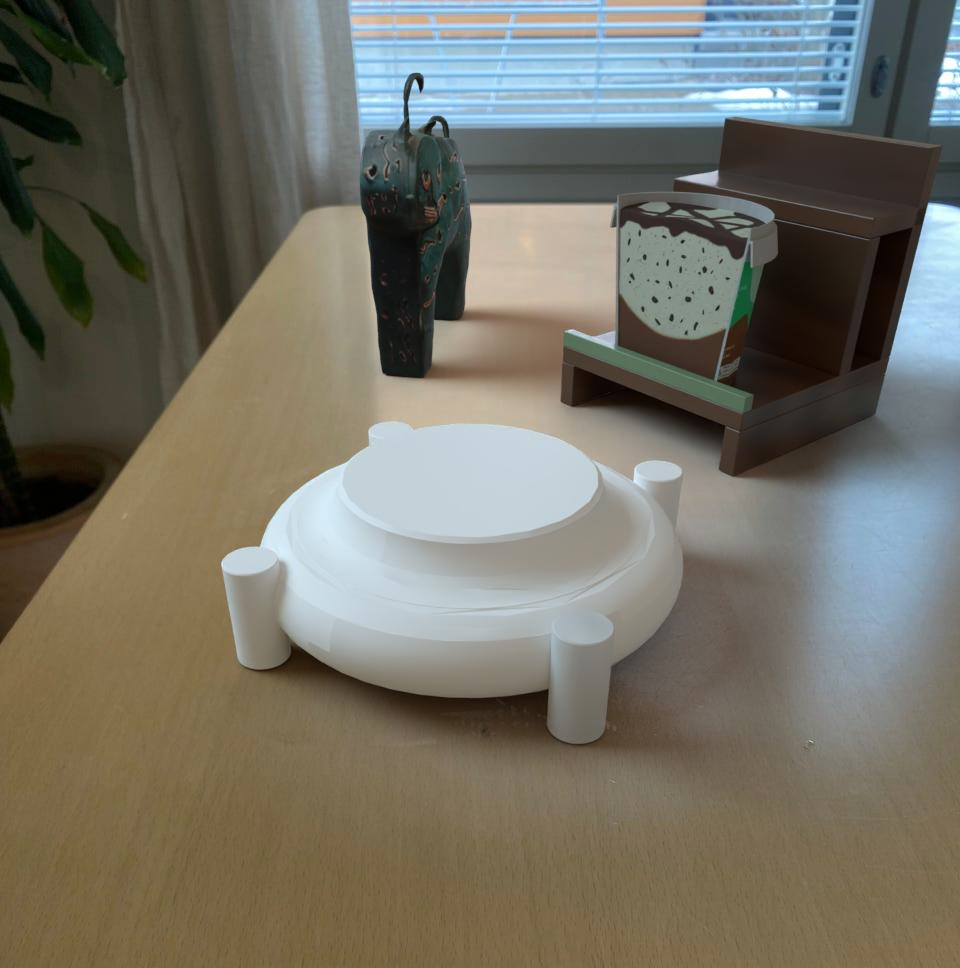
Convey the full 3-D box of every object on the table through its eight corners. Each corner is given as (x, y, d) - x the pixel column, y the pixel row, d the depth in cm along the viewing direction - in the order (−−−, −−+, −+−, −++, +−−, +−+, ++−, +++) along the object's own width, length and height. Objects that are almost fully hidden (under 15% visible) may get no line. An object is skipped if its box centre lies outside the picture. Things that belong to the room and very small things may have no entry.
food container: (796, 378, 64) (827, 215, 58) (732, 399, 61) (758, 230, 55) (663, 329, 72) (679, 182, 66) (600, 345, 69) (612, 193, 63)
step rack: (703, 354, 80) (735, 116, 70) (875, 414, 70) (943, 145, 60) (560, 401, 72) (573, 138, 62) (732, 476, 62) (782, 177, 52)
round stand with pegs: (315, 832, 37) (295, 683, 33) (186, 545, 55) (162, 424, 50) (814, 669, 45) (848, 534, 41) (561, 466, 63) (567, 357, 59)
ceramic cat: (432, 387, 74) (423, 86, 62) (350, 381, 75) (326, 83, 64) (483, 309, 90) (484, 57, 78) (415, 305, 91) (406, 56, 79)
